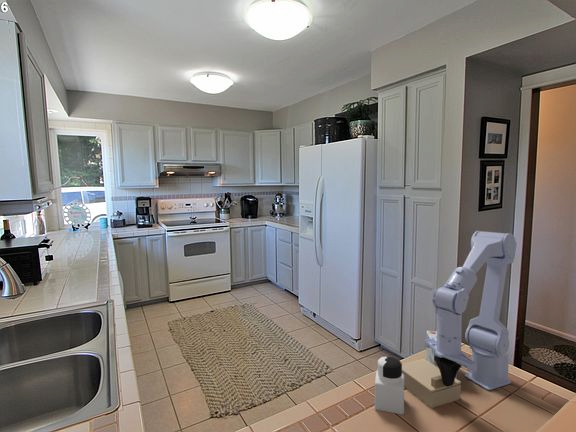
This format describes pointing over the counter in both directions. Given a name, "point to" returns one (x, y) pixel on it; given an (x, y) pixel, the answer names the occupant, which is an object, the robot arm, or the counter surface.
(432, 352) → the light bulb box
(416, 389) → the base
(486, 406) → the counter surface
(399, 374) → the medicine bottle
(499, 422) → the counter surface
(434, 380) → the mailer lid
